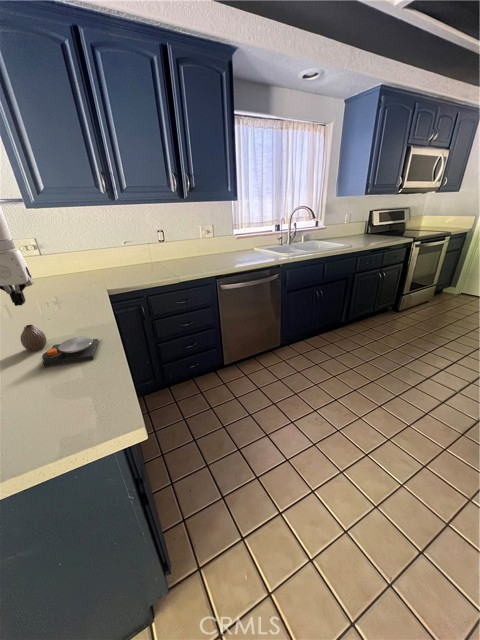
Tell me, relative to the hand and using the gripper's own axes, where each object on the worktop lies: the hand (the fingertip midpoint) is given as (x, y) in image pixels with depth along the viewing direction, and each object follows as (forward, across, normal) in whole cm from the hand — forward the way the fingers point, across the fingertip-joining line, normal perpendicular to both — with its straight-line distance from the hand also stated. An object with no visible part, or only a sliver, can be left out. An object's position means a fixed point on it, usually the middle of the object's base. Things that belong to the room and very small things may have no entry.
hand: (20, 304), depth 85 cm
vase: (+17, 0, +1) cm, 17 cm away
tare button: (+14, +8, -11) cm, 20 cm away
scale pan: (+14, +14, -7) cm, 21 cm away
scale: (+17, +13, -7) cm, 22 cm away
